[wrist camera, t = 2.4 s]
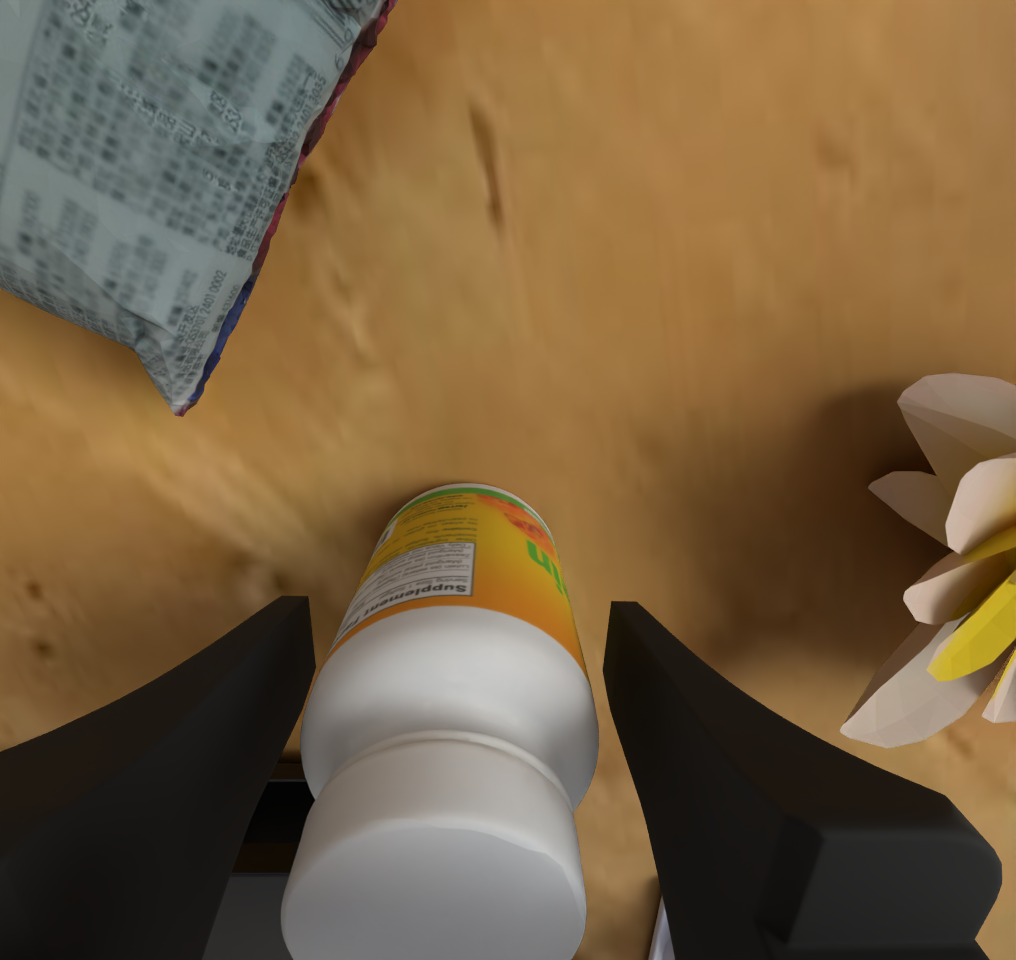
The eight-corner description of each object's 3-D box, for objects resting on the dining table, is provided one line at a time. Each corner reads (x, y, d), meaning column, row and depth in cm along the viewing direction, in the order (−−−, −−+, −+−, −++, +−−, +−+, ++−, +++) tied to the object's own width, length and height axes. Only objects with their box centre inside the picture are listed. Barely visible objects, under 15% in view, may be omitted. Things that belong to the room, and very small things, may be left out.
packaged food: (-118, 192, 12) (-495, 135, 7) (58, -450, 9) (-406, -1251, 4) (237, 403, 14) (115, 461, 9) (483, -59, 11) (483, -312, 6)
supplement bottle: (577, 607, 16) (683, 1002, 7) (418, 654, 17) (331, 1082, 8) (526, 453, 15) (582, 723, 6) (349, 510, 15) (132, 847, 6)
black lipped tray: (551, 739, 18) (575, 924, 13) (535, 922, 22) (549, 1129, 16) (81, 736, 18) (-97, 930, 12) (141, 926, 21) (21, 1143, 16)
